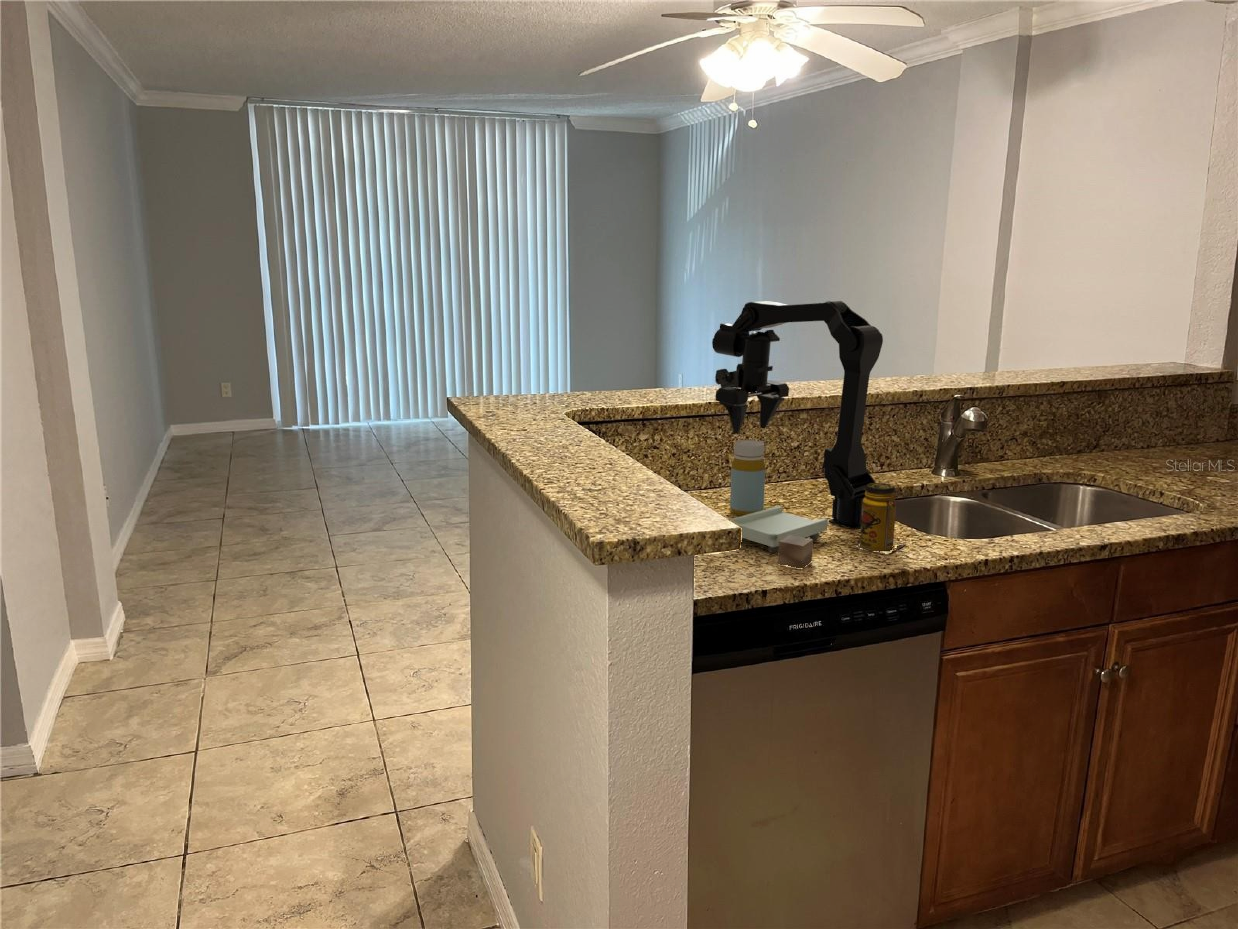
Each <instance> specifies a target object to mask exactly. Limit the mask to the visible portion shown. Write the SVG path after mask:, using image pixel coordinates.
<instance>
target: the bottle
mask: <svg viewBox="0 0 1238 929" xmlns="http://www.w3.org/2000/svg"><path fill="white" fill-rule="evenodd" d="M733 445H734V446H733V460H732V462H731V469H730V472H731V473H730V494H729V495H730V496H729V498H730V499H729V501H730V502H729V510H730V511H731V512H732V513H733V514H734V515H735V516H738V517H740V516H744V515H747V514H751V513H755V512H758V511H762V510H764V508H765V506H764V505H765V504H764V503H765V483H766V463H765V459H764V457H765V455H764V454H765V442H764V441H759V440H753V439H741V440H736V441H735V442H734V443H733Z"/></svg>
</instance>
